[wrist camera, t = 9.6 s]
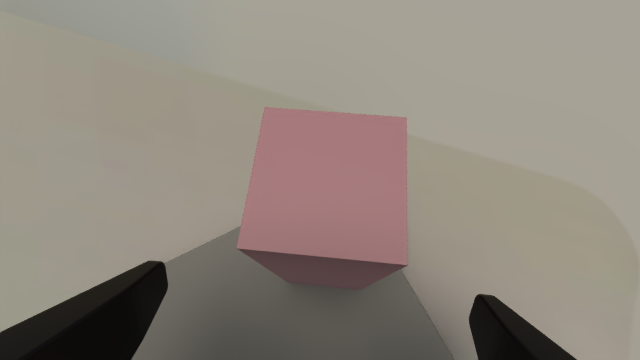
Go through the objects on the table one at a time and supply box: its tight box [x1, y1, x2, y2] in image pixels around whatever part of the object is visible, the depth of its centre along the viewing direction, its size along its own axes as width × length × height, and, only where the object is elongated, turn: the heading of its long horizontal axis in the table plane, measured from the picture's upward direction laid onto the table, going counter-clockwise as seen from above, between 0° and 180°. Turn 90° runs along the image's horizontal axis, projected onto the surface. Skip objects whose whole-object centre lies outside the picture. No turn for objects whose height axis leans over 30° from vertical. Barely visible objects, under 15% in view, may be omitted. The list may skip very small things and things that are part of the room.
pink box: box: [237, 107, 408, 290], centre depth 15 cm, size 4×4×12 cm
